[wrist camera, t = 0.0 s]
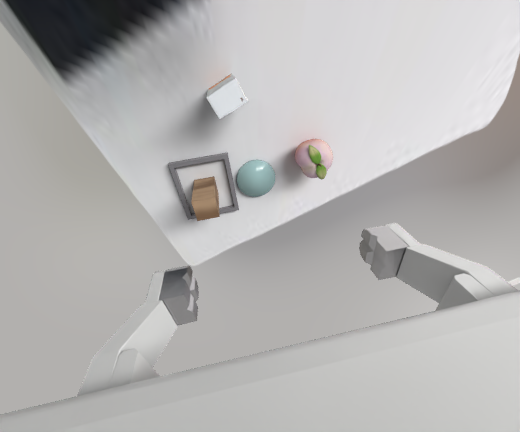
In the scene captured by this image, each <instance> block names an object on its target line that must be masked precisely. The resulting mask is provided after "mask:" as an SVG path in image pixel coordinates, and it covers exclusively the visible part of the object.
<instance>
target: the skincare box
mask: <svg viewBox="0 0 520 432" xmlns="http://www.w3.org/2000/svg"><path fill="white" fill-rule="evenodd" d="M206 99H207V100H208V102H209V104H210V105H211V107H212V109H213V110H214V112H215V114H216V115H217V117H218V119H222V118H223V117H225V116H226V115H228V114H230V113H231V112H233V111H235V110H236V109H238V108H239V107H241V106H242V105H244V104H246V103H247V102H248V99H247V98H246V96H245V94H244V92H243V90H242V88H241V86H240V85H239V83H238V81H237V79H236V78H235V77H234V76H233V74H230V75H229V76H227V77H226V78H224V79H223V80H222V81H220V82H219V83H217V84H215V85H214V86H212V87H211V88H209V89H208V92H207V96H206Z"/></svg>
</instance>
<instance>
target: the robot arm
mask: <svg viewBox="0 0 520 432" xmlns="http://www.w3.org/2000/svg"><path fill="white" fill-rule="evenodd" d="M361 236H362V238H363V240H362V241H361V243H360V247H359V249H360V254H361V256H362V258H363V260H364V261H365V262H366V263H368V264H370V265H371V270H372V272H373V273H374V274H375V276H376V277H377V278H378V280H381V279H386V278H391V277H397V278H398V279H400V280H402V281H403V282H405V283H406V284H408V285H410V286H411V287H413V288H415V289H416V290H418V291H420V292H421V293H423V294H425V295H426V296H428V297H430V298H431V299H433V300H435V301H436V302H438V303H439V305H438V307H437V309H436V310H435V311H433V312H429V313H424V314H420V315H416V316H412V317H407V318H403V319H399V320H395V321H391V322H387V323H382V324H378V325H374V326H370V327H366V328H362V329H358V330H353V331H349V332H345V333H341V334H336V335H332V336H328V337H324V338H320V339H315V340H311V341H307V342H303V343H299V344H295V345H290V346H286V347H282V348H278V349H274V350H269V351H265V352H261V353H257V354H253V355H249V356H244V357H240V358H236V359H232V360H228V361H223V362H219V363H215V364H211V365H207V366H202V367H199V368H194V369H190V370H186V371H182V372H178V373H173V374H169V375H165V376H159V375H158V374H157V373H156V371H155V370H154V369H153V367H154V365H155V363H156V362H157V360H158V358H159V357H160V355H161V353H162V352H163V350H164V348H165V347H166V345H167V343H168V342H169V340H170V339H171V337H172V335H173V334H174V332H175V330H176V329H177V326H178V325H182V324H186V323H189V322H193V321H197V312H198V306H197V304H196V301H197V299H198V293H199V292H198V285H197V281H196V279H195V278H194V277H193V276H192V269H191V267H190V266H184V267H179V268H173V269H168V270H164V271H158V272H155V273H154V274H153V276H152V279H151V283H150V286H149V290H148V294H147V297H146V301H145V304H142V305H140V307H139V308H138V309H137V310H136V311H135V312H134V313H133V314H132V315H131V316H130V317H129V318H128V319H127V321H126V322H125V323H124V324H123V325H122V326H121V327H120V328H119V329H118V330H117V331H116V332H115V334H114V335H113V336H112V337H111V338H110V339H109V340H108V341H107V342H106V343H105V344H104V346H102V348H101V349H100V350H99V351H98V352H97V353H96V354H95V355H94V356H93V358H92V361H91V363H90V365H89V368H88V370H87V373H86V375H85V378H84V381H83V383H82V385H81V388H80V391H79V393H78V396H77V397H72V398H68V399H64V400H59V401H55V402H51V403H47V404H43V405H39V406H34V407H30V408H26V409H22V410H18V411H13V412H9V413H5V414H1V415H0V432H520V291H519V290H517V289H516V288H515V287H513V286H512V285H511V284H510V283H508V282H507V281H506V280H504V279H503V278H502V277H500V276H499V275H498V274H496V273H495V272H494V271H493V270H491V269H490V268H488V267H486V266H484V265H481V264H478V263H475V262H472V261H470V260H467V259H464V258H462V257H459V256H456V255H453V254H450V253H448V252H445V251H442V250H439V249H437V248H434V247H431V246H429V245H426V244H420V243H418V241H416V240H415V239H414V238H413V237H412V236H411V235H410V234H408V233H407V232H406V231H405V230H404V229H403V228H402V227H400V226H399V225H398V224H397V223H391V224H387V225H382V226H377V227H373V228H368V229H364V230H363V231H362V235H361Z"/></svg>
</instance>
